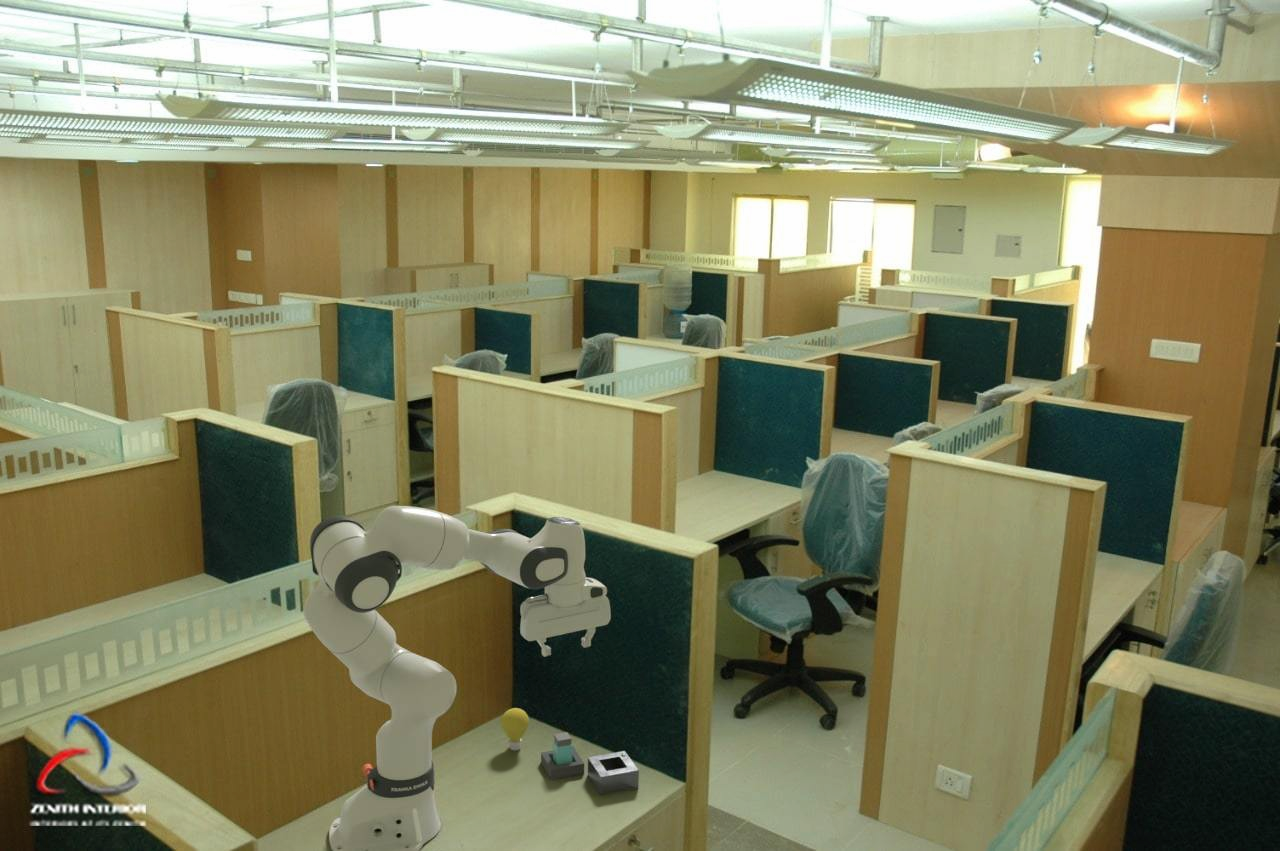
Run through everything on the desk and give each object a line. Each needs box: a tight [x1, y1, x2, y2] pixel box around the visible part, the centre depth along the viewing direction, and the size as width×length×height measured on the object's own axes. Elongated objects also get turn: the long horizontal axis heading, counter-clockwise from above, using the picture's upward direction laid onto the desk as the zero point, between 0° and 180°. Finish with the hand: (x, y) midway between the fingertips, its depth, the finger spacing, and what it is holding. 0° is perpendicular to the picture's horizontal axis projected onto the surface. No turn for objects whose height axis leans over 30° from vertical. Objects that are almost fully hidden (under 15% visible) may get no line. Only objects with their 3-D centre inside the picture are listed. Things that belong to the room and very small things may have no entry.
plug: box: [552, 731, 573, 765], centre depth 244 cm, size 4×4×8 cm
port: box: [587, 750, 640, 796], centre depth 239 cm, size 9×9×5 cm
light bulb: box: [500, 707, 530, 751], centre depth 253 cm, size 7×7×10 cm
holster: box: [540, 746, 585, 780], centre depth 245 cm, size 8×8×2 cm
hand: (566, 650), depth 229 cm, fingers open, 8 cm apart
